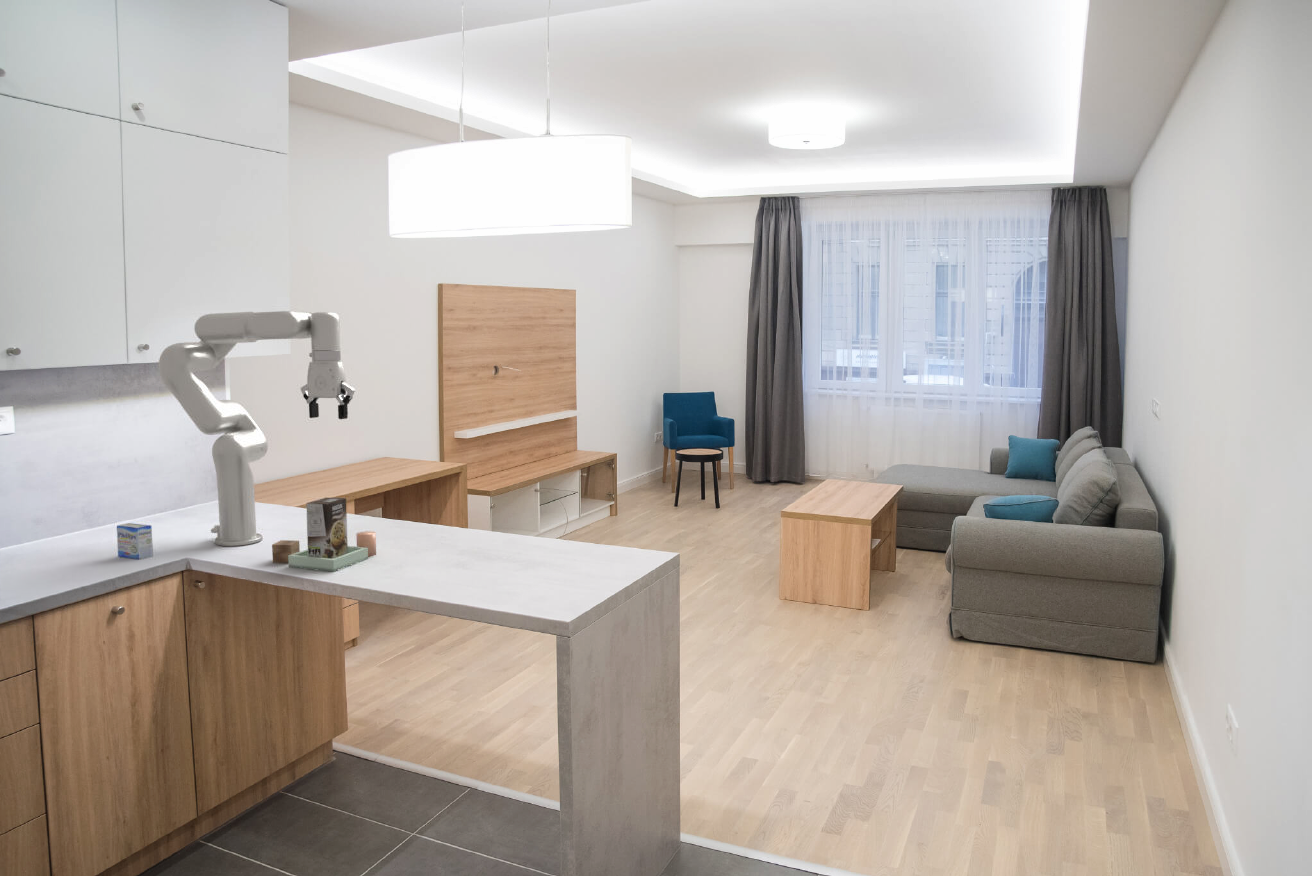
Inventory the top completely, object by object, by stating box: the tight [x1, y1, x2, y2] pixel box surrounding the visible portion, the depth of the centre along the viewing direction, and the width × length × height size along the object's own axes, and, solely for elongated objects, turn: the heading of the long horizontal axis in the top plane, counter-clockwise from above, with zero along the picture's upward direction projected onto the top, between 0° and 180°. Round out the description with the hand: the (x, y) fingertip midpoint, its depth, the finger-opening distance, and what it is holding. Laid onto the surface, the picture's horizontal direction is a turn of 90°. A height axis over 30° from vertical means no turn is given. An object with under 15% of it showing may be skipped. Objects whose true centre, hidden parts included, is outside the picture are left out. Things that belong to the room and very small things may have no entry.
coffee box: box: [306, 497, 349, 559], centre depth 237 cm, size 9×6×16 cm
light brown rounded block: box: [356, 530, 377, 558], centre depth 246 cm, size 5×5×6 cm
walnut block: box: [271, 539, 301, 564], centre depth 239 cm, size 5×5×5 cm
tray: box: [288, 545, 369, 572], centre depth 238 cm, size 14×14×3 cm
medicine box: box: [116, 522, 154, 560], centre depth 243 cm, size 8×4×9 cm, turn 70°
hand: (328, 418), depth 253 cm, fingers open, 9 cm apart
